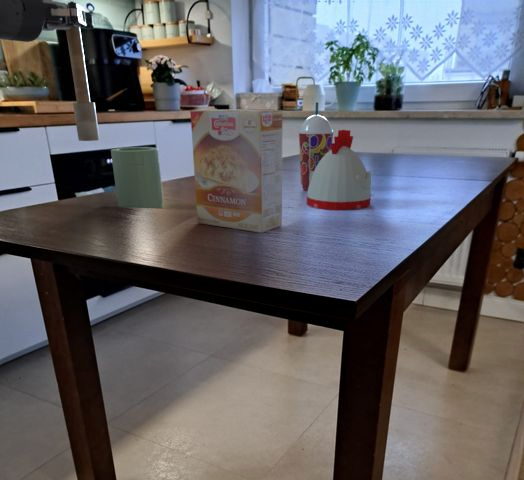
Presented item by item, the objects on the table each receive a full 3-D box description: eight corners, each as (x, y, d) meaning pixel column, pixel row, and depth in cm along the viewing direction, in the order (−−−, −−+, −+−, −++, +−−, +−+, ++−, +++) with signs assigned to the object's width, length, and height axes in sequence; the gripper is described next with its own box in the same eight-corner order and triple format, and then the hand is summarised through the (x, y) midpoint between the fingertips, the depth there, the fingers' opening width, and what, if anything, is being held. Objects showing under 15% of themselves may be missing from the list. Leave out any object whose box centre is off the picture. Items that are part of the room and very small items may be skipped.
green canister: (110, 212, 108) (102, 151, 103) (131, 203, 116) (124, 146, 111) (152, 213, 106) (146, 151, 101) (170, 205, 114) (165, 147, 109)
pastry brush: (74, 140, 90) (52, 3, 81) (85, 139, 93) (65, 7, 84) (93, 141, 89) (73, 2, 80) (103, 139, 92) (85, 6, 83)
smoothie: (327, 192, 127) (331, 102, 118) (294, 191, 129) (295, 102, 120) (333, 187, 134) (337, 102, 125) (301, 186, 136) (303, 102, 127)
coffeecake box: (196, 223, 98) (188, 109, 89) (219, 216, 103) (214, 108, 94) (261, 233, 90) (260, 110, 81) (283, 225, 95) (284, 109, 86)
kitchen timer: (380, 202, 115) (387, 129, 108) (352, 212, 105) (357, 133, 99) (326, 196, 123) (329, 127, 116) (294, 205, 113) (296, 130, 106)
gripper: (-30, 41, 76) (56, 49, 90) (43, 37, 71) (121, 46, 85) (-44, -21, 72) (48, -2, 86) (31, -30, 67) (115, -9, 81)
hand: (84, 22), depth 86 cm, fingers closed on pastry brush, 2 cm apart
